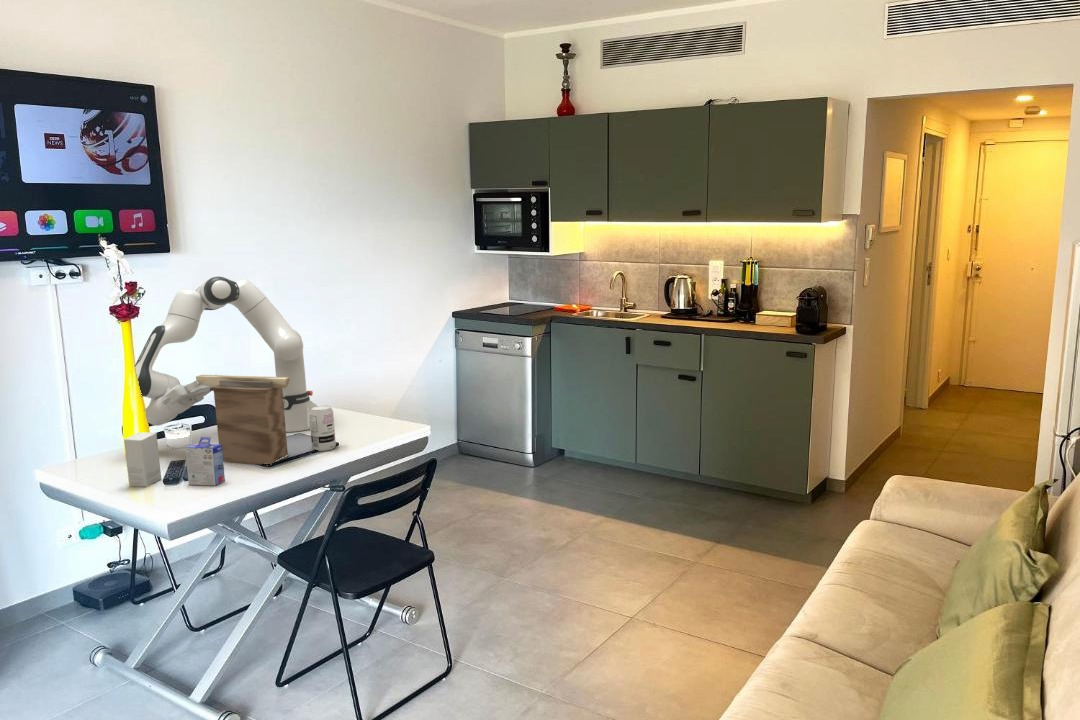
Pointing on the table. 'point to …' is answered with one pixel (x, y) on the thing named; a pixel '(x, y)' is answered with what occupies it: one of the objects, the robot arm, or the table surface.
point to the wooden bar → (214, 380)
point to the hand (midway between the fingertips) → (207, 379)
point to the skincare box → (142, 459)
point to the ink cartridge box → (205, 463)
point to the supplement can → (322, 428)
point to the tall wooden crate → (250, 421)
